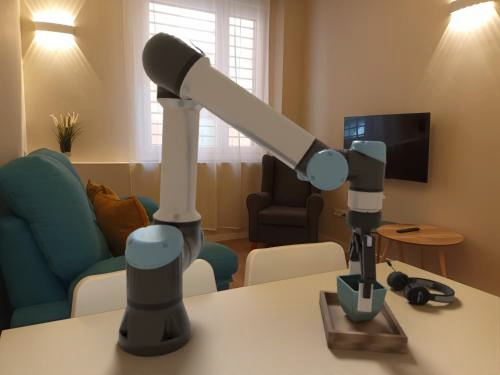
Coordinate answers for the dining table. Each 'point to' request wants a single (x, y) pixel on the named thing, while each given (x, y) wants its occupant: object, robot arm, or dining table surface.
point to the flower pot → (350, 295)
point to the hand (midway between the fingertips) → (358, 298)
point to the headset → (419, 288)
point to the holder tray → (360, 328)
